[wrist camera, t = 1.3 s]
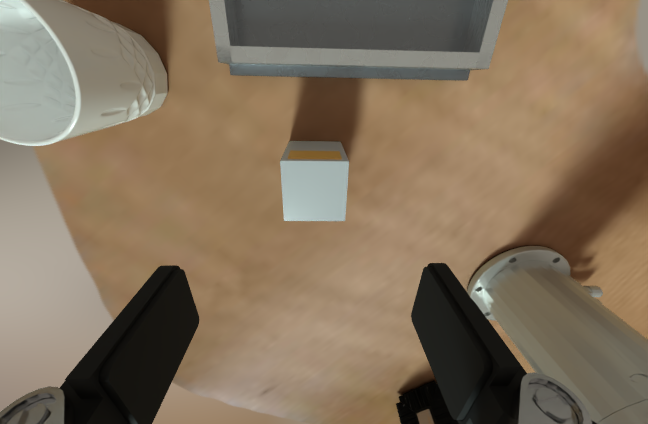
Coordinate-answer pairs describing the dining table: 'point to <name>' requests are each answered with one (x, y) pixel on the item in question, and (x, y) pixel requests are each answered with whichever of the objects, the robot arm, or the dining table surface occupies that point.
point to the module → (314, 181)
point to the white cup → (71, 72)
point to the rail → (357, 37)
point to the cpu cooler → (424, 406)
